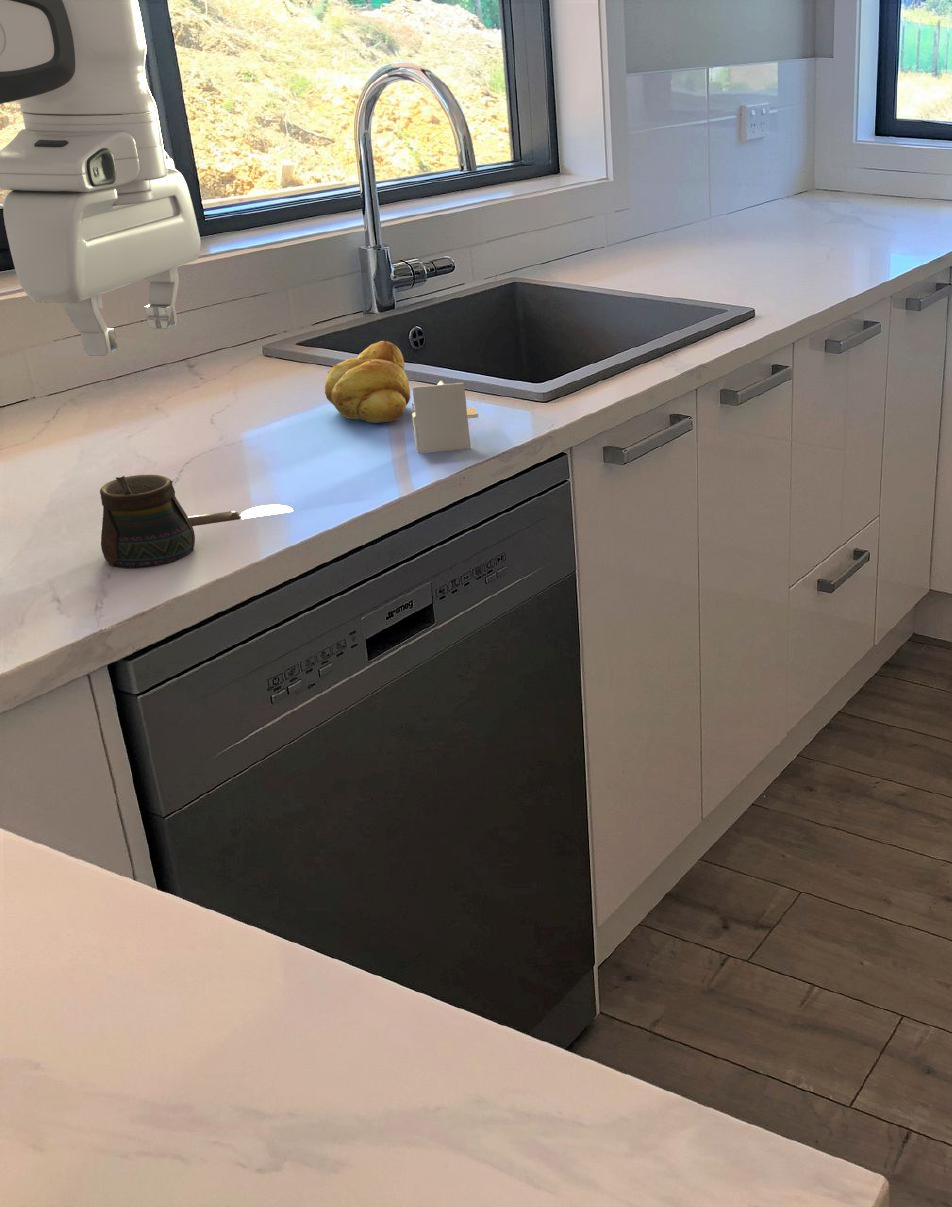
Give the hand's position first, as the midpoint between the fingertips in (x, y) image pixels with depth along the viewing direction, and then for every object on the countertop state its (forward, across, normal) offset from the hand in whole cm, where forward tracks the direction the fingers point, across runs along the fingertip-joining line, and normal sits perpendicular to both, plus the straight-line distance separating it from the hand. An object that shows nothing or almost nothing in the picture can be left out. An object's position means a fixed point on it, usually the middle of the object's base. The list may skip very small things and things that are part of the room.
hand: (134, 340), depth 102 cm
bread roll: (+21, -52, -2) cm, 56 cm away
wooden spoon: (+21, -13, -3) cm, 25 cm away
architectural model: (+21, -40, +11) cm, 46 cm away
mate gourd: (+21, -2, -3) cm, 21 cm away
